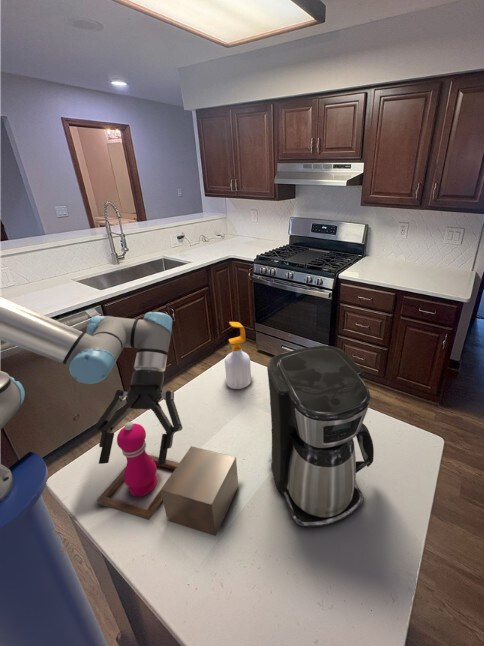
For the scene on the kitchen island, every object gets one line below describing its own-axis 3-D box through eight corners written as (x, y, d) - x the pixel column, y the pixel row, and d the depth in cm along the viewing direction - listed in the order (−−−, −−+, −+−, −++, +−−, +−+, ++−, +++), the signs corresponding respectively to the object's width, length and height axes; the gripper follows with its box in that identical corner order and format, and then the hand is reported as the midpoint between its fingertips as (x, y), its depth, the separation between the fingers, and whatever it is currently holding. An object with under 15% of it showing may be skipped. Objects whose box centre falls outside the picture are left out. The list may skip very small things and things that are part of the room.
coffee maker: (321, 553, 64) (330, 427, 51) (232, 457, 86) (222, 351, 72) (380, 484, 78) (400, 371, 65) (291, 416, 100) (292, 322, 87)
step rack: (98, 504, 73) (87, 473, 69) (139, 456, 86) (132, 428, 82) (213, 541, 66) (209, 509, 62) (240, 482, 78) (237, 453, 75)
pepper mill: (156, 495, 75) (141, 432, 68) (124, 501, 74) (105, 438, 66) (161, 469, 82) (148, 409, 74) (131, 475, 80) (115, 414, 73)
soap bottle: (223, 378, 118) (218, 320, 109) (246, 372, 122) (242, 315, 113) (231, 392, 111) (226, 331, 101) (254, 385, 115) (252, 325, 105)
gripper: (201, 374, 83) (190, 463, 75) (109, 373, 84) (89, 461, 76) (193, 369, 76) (180, 466, 68) (92, 368, 77) (68, 464, 69)
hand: (132, 463), depth 72 cm, fingers open, 13 cm apart
